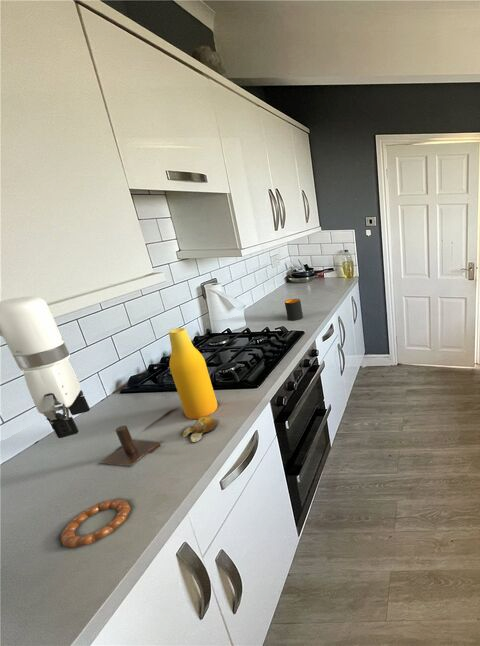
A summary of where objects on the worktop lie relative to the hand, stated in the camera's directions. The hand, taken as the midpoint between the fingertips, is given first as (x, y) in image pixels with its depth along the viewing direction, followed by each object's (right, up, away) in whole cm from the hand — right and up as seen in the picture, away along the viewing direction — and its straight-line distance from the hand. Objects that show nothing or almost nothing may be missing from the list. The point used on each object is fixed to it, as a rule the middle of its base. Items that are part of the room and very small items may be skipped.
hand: (75, 423), depth 79 cm
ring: (+8, -20, -4) cm, 22 cm away
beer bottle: (+5, -7, +36) cm, 37 cm away
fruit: (+11, -10, +26) cm, 30 cm away
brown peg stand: (-2, -14, +17) cm, 22 cm away
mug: (+3, +26, +121) cm, 124 cm away
